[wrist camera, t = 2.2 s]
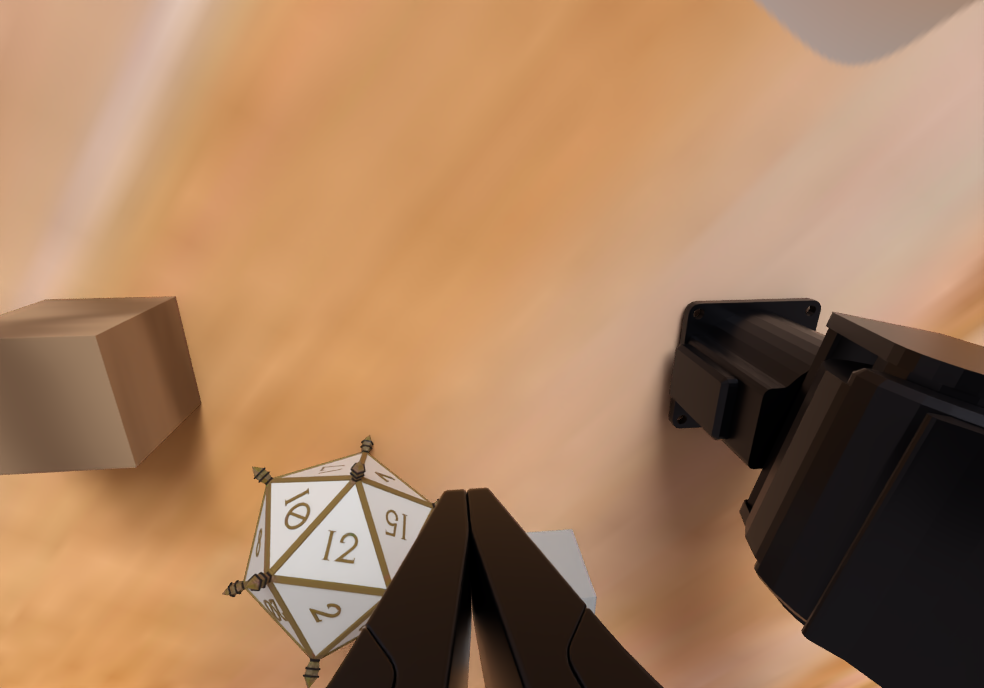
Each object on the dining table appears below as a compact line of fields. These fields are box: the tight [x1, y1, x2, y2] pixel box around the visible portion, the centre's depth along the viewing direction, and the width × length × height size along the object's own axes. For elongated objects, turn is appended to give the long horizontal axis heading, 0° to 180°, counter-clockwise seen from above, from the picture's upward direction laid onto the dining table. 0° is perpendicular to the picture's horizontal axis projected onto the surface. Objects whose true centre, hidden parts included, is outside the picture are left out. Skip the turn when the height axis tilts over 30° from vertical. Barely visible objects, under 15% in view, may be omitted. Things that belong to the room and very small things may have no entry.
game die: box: [222, 435, 439, 688], centre depth 20 cm, size 9×8×10 cm
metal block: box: [0, 296, 201, 475], centre depth 18 cm, size 5×5×5 cm
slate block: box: [526, 529, 596, 614], centre depth 25 cm, size 4×4×4 cm
